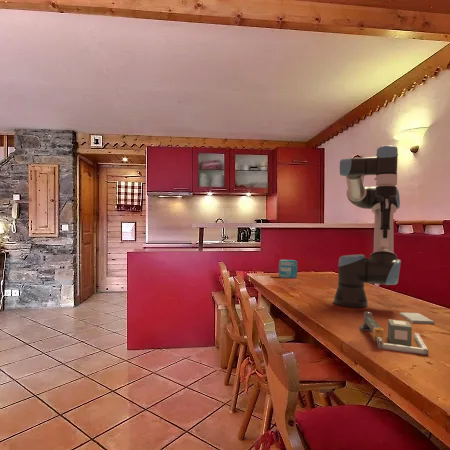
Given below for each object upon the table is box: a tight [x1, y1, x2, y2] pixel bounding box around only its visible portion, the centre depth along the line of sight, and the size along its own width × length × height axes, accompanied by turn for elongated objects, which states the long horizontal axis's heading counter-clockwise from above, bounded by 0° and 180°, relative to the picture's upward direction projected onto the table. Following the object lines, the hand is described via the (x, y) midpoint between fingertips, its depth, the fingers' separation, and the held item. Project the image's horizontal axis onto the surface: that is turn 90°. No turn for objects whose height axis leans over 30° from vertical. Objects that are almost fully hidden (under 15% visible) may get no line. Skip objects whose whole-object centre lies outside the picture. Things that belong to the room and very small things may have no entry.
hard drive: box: [399, 311, 435, 325], centre depth 138 cm, size 2×8×12 cm
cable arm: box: [366, 316, 385, 339], centre depth 114 cm, size 16×3×2 cm, turn 168°
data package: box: [278, 259, 298, 279], centre depth 235 cm, size 12×4×12 cm, turn 87°
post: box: [359, 311, 373, 333], centre depth 123 cm, size 5×5×6 cm
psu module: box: [387, 318, 413, 347], centre depth 111 cm, size 7×6×6 cm
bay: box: [375, 332, 429, 356], centre depth 110 cm, size 16×13×2 cm
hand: (384, 246), depth 134 cm, fingers closed
